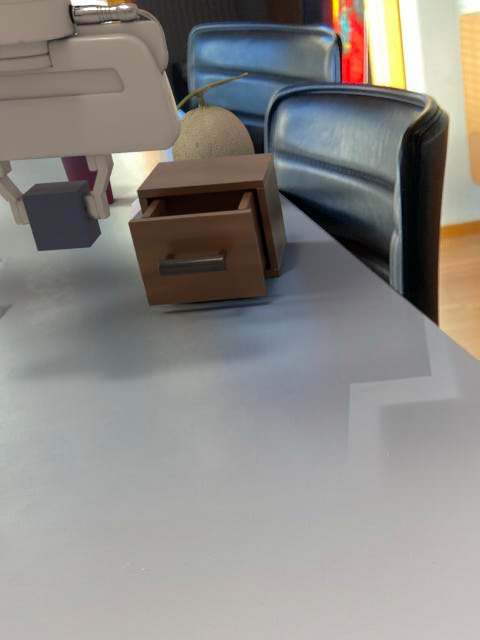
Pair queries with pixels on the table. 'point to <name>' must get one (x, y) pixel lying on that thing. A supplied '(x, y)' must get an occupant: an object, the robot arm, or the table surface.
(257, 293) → the drawer
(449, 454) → the table surface
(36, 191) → the block
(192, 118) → the fruit
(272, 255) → the cabinet
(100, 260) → the table surface
